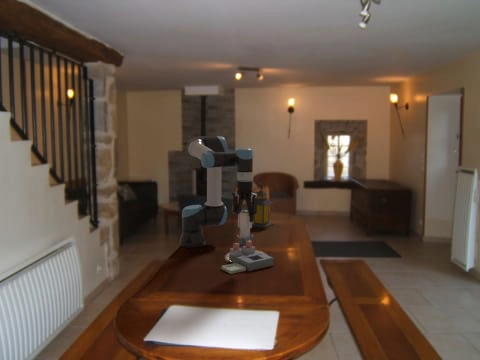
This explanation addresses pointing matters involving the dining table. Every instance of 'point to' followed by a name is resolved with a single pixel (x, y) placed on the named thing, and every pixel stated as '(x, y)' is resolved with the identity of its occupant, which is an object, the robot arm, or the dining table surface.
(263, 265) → the housing
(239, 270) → the tray
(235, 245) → the plunger
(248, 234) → the cylinder
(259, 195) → the lantern
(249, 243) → the plunger
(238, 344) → the dining table surface
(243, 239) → the mug
